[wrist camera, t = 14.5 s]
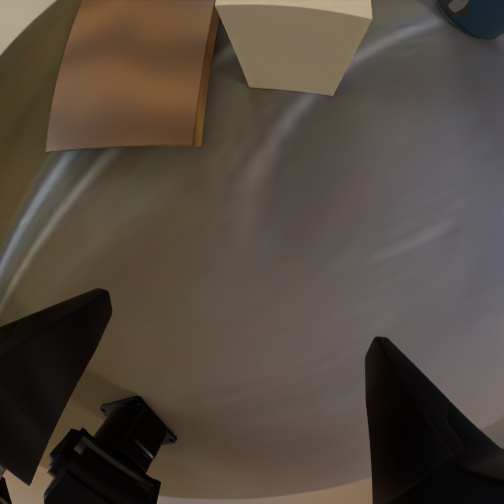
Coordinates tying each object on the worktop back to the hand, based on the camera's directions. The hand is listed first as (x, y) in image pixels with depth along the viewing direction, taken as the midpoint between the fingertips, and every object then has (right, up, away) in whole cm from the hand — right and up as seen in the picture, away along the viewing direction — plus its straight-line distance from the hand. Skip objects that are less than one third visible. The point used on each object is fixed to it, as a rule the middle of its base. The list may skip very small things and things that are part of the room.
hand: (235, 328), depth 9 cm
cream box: (+3, +15, +7) cm, 17 cm away
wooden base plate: (-8, +17, +8) cm, 20 cm away
